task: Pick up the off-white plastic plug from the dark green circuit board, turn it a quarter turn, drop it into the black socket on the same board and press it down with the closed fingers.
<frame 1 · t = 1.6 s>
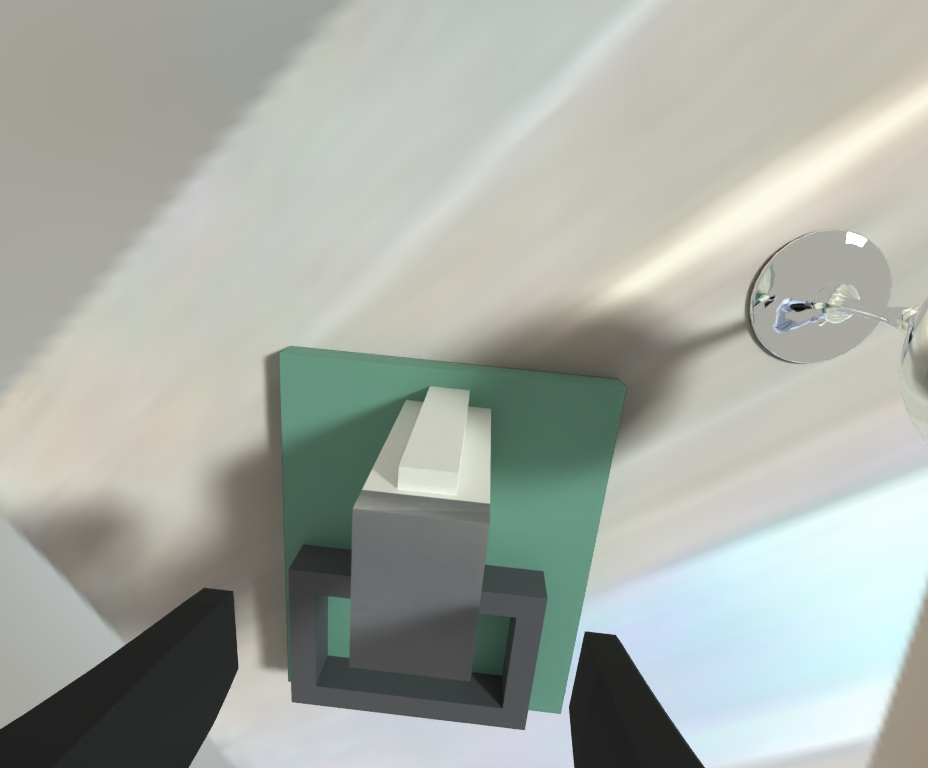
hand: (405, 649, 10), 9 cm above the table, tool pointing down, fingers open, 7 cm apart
plug: (443, 461, 18), point 1 cm above the table, touching circuit board
wineglass: (814, 298, 17), on the table
circuit board: (438, 538, 20), on the table
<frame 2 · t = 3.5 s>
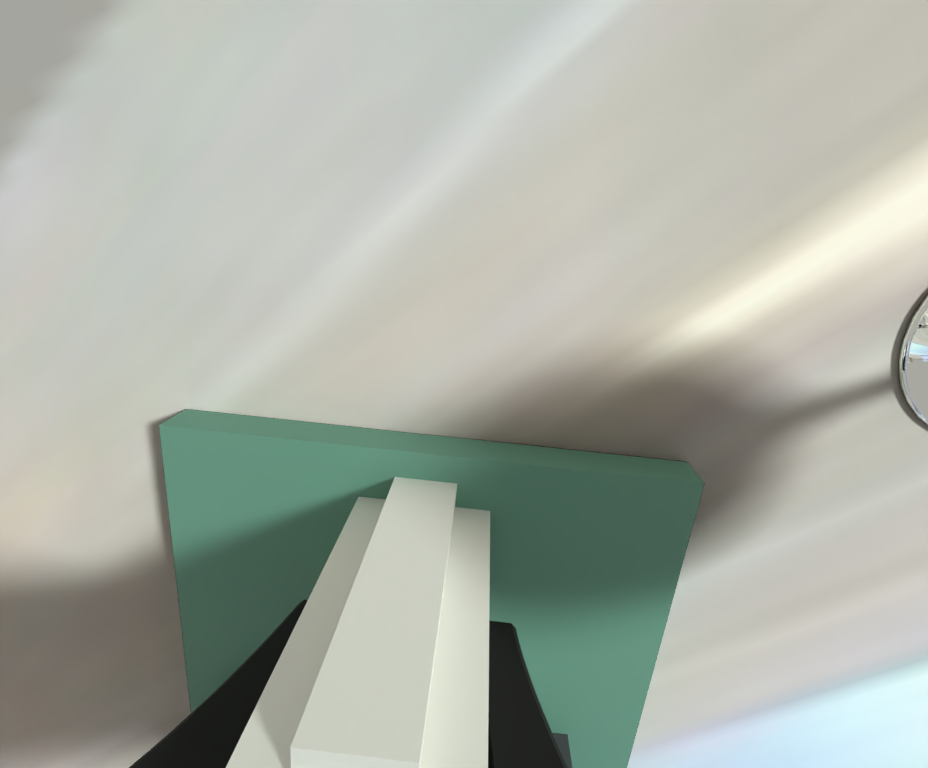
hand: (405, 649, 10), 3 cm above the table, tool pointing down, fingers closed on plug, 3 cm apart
plug: (418, 585, 12), point 1 cm above the table, touching circuit board, gripper
circuit board: (414, 675, 14), on the table
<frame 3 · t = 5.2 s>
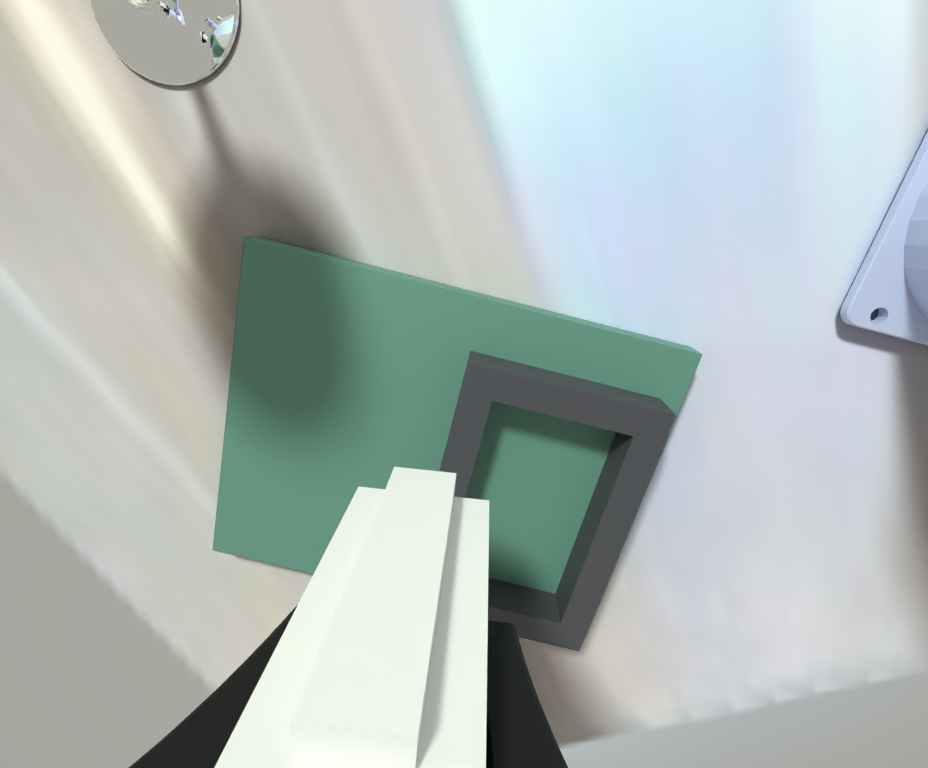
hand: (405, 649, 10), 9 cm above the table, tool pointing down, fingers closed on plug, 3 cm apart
plug: (417, 575, 12), point 7 cm above the table, touching gripper
wineglass: (169, 2, 15), on the table
circuit board: (437, 449, 19), on the table
when the fingers open (4 cm above the table, at t = 7.3 s): plug stays where it is, resting on circuit board.
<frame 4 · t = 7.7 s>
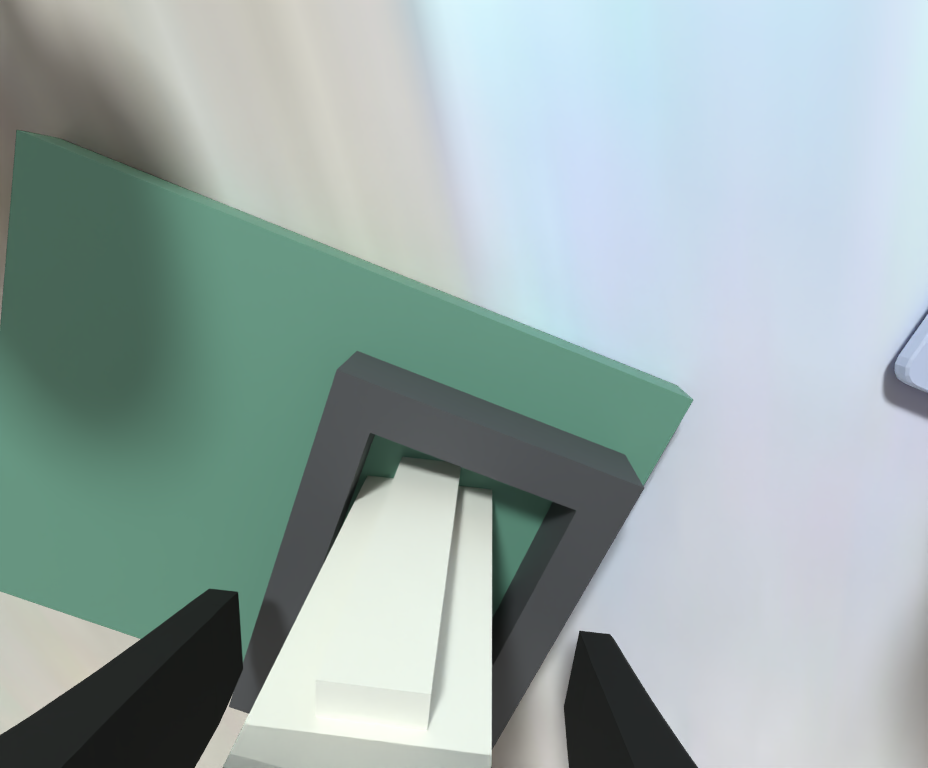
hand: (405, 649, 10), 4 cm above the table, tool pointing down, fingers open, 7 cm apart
plug: (423, 561, 13), point 1 cm above the table, touching circuit board
circuit board: (310, 482, 13), on the table
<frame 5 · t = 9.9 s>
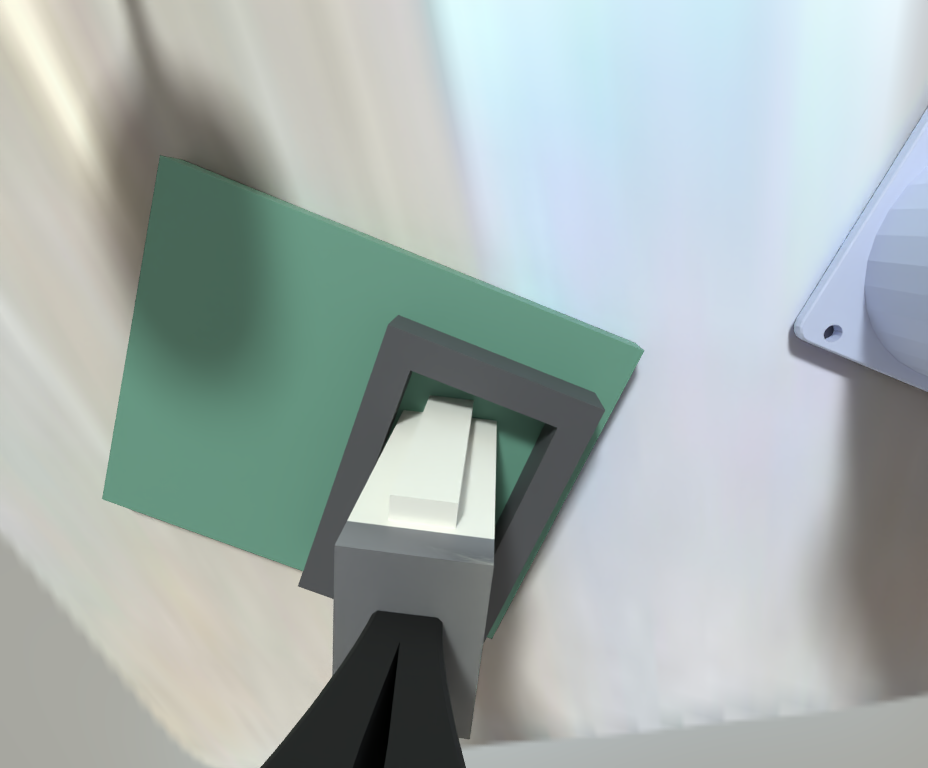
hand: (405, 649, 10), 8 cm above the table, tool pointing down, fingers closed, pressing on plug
plug: (444, 477, 17), point 1 cm above the table, touching circuit board, gripper
circuit board: (357, 419, 17), on the table
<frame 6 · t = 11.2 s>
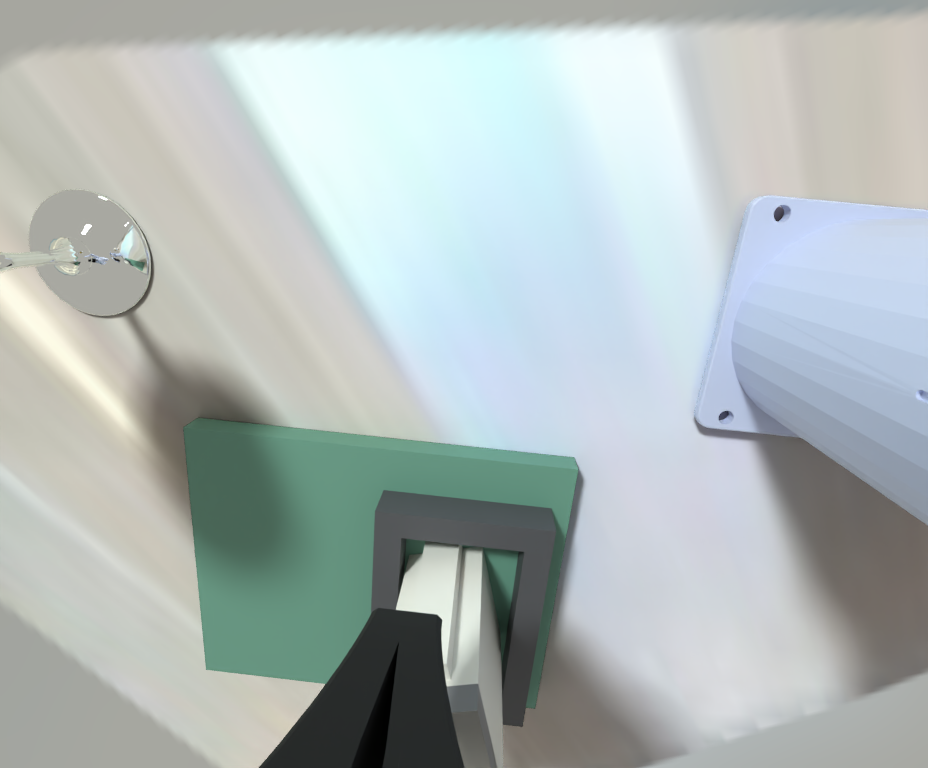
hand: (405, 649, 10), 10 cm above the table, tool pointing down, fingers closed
plug: (456, 596, 21), point 1 cm above the table, touching circuit board
wineglass: (95, 254, 18), on the table
circuit board: (378, 563, 21), on the table
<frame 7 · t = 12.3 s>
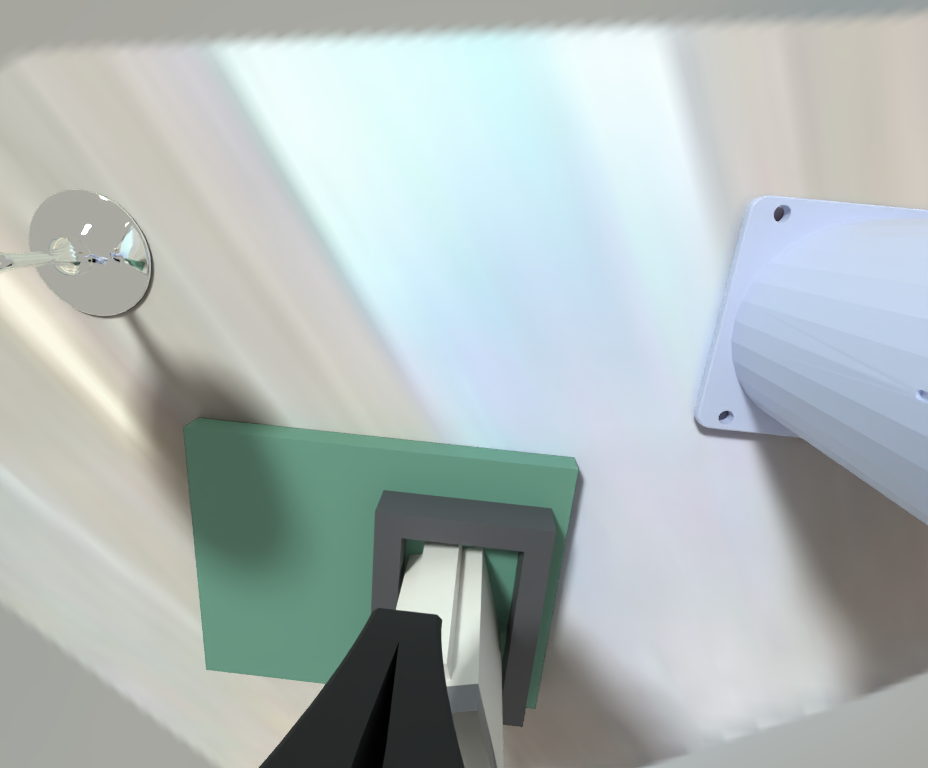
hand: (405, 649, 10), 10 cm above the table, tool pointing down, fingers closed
plug: (456, 596, 21), point 1 cm above the table, touching circuit board
wineglass: (95, 254, 18), on the table
circuit board: (378, 563, 21), on the table
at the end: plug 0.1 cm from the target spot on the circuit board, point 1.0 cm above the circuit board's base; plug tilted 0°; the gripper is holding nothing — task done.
